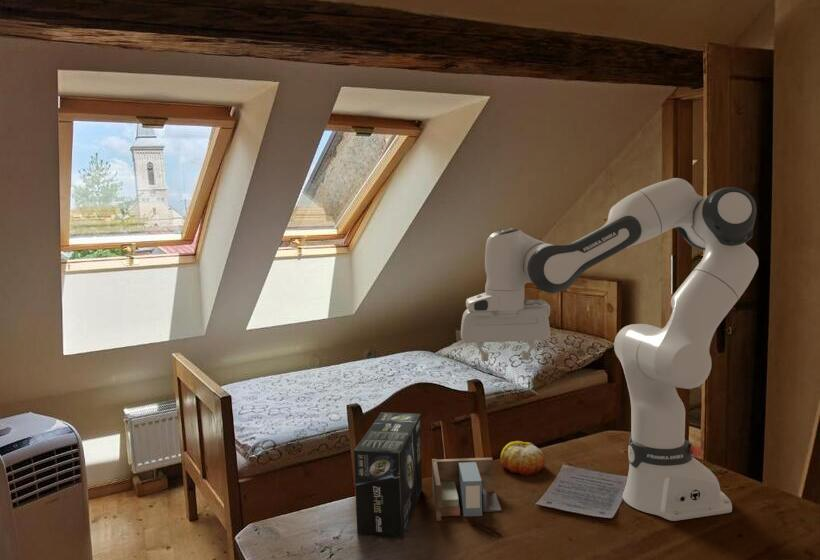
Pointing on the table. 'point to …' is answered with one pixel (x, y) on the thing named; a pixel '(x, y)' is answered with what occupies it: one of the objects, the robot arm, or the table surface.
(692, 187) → the robot arm
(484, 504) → the bookend
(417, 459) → the box
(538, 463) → the fruit
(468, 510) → the book
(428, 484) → the table surface
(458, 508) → the shelf
